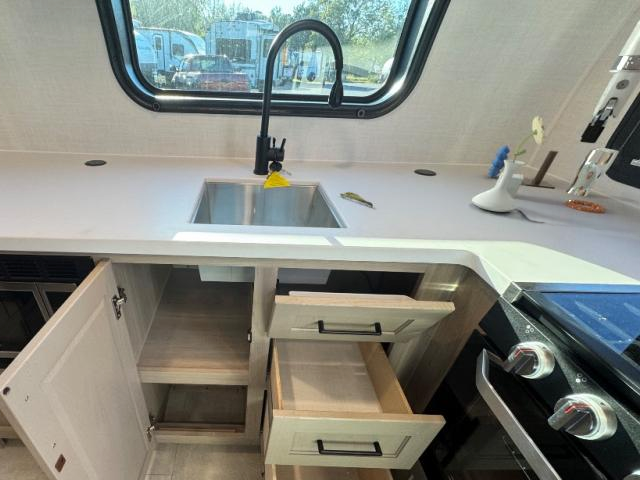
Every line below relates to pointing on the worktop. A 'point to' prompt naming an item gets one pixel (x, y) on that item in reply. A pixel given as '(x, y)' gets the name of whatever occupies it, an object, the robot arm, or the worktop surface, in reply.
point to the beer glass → (591, 170)
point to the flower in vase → (508, 177)
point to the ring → (595, 209)
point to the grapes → (499, 161)
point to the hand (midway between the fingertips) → (587, 140)
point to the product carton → (513, 183)
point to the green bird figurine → (356, 198)
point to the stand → (542, 173)
